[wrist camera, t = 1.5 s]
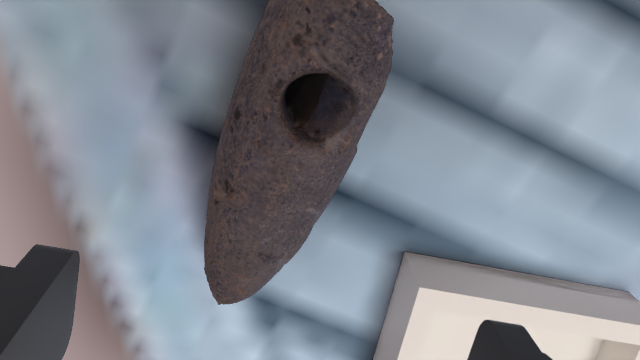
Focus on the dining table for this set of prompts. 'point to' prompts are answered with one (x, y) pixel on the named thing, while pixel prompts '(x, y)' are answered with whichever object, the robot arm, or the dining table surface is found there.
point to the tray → (503, 313)
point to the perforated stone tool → (290, 134)
